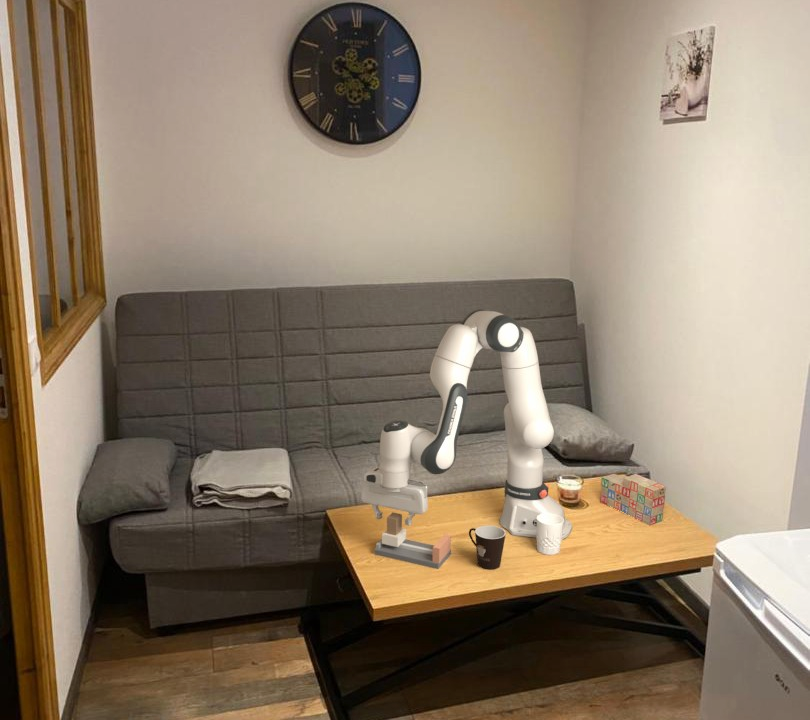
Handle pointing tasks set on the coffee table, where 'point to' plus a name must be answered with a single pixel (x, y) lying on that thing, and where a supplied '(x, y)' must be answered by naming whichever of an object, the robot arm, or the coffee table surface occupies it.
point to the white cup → (549, 533)
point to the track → (417, 552)
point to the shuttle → (394, 530)
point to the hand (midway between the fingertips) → (393, 521)
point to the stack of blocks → (634, 497)
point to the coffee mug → (489, 546)
